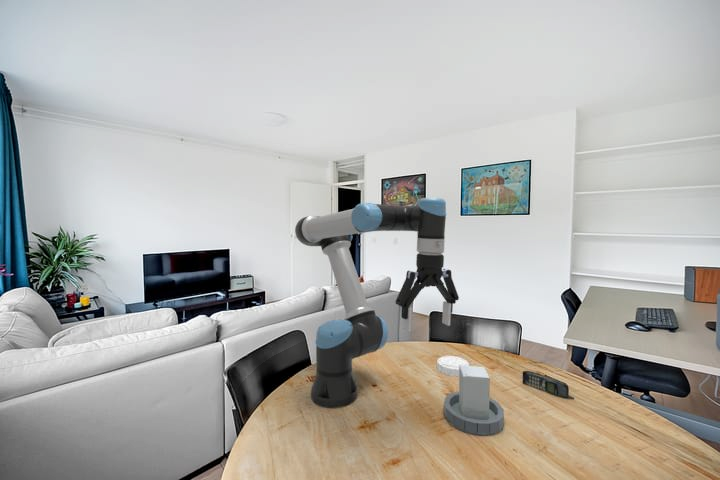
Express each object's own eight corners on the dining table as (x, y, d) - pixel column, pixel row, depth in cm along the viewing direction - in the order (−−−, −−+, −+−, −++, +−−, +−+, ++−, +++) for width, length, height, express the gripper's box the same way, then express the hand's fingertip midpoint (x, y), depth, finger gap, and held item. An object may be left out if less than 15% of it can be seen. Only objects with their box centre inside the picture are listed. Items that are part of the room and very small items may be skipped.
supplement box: (489, 423, 85) (490, 378, 84) (461, 420, 86) (462, 375, 86) (484, 407, 92) (484, 366, 91) (458, 405, 93) (458, 364, 93)
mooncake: (434, 362, 125) (434, 354, 125) (463, 363, 125) (464, 354, 125) (440, 377, 113) (440, 367, 113) (473, 377, 113) (473, 368, 113)
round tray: (433, 407, 93) (433, 397, 93) (475, 397, 99) (475, 387, 99) (470, 441, 79) (470, 429, 78) (516, 427, 84) (517, 415, 84)
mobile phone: (521, 371, 108) (572, 386, 97) (524, 368, 110) (574, 383, 99) (521, 385, 108) (572, 402, 97) (524, 382, 110) (574, 398, 99)
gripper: (399, 256, 78) (396, 337, 80) (473, 253, 88) (470, 326, 90) (384, 252, 85) (382, 327, 86) (455, 251, 95) (452, 318, 97)
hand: (427, 327), depth 88 cm, fingers open, 13 cm apart
